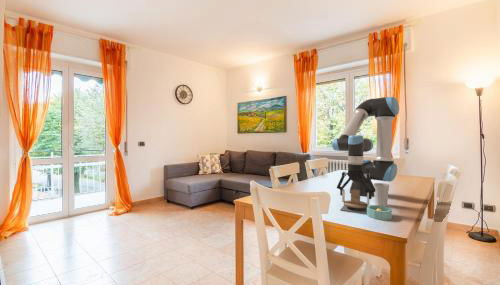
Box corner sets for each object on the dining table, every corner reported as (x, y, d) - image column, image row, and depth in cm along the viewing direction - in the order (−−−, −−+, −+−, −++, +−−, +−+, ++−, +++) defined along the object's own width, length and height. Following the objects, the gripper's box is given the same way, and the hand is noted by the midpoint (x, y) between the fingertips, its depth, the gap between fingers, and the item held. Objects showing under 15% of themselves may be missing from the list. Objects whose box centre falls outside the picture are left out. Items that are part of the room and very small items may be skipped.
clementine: (376, 213, 123) (376, 207, 123) (382, 214, 121) (382, 208, 121) (375, 214, 120) (375, 209, 120) (382, 216, 119) (382, 209, 119)
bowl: (368, 211, 128) (368, 204, 128) (392, 215, 122) (392, 207, 122) (365, 217, 119) (365, 209, 119) (391, 221, 113) (391, 213, 113)
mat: (345, 204, 141) (345, 203, 141) (370, 208, 134) (370, 206, 134) (340, 210, 130) (340, 209, 130) (366, 214, 123) (366, 213, 123)
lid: (346, 201, 140) (346, 187, 140) (369, 204, 134) (369, 189, 134) (341, 206, 130) (341, 191, 130) (365, 209, 124) (366, 194, 124)
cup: (391, 207, 135) (391, 186, 135) (375, 206, 137) (375, 185, 136) (386, 203, 143) (386, 183, 142) (371, 202, 144) (371, 182, 144)
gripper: (331, 163, 135) (331, 201, 136) (380, 165, 122) (379, 208, 122) (334, 161, 141) (334, 198, 142) (381, 164, 128) (381, 204, 129)
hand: (355, 203), depth 132 cm, fingers closed on lid, 12 cm apart
